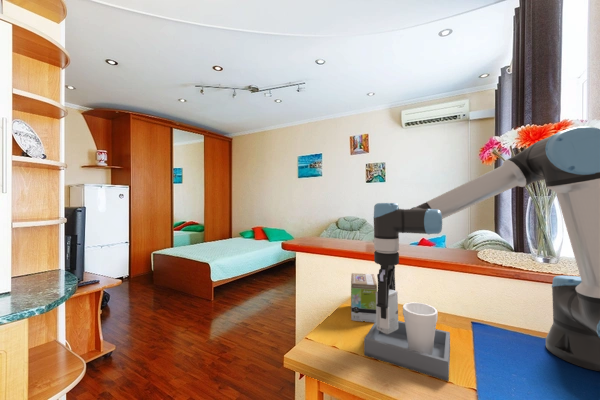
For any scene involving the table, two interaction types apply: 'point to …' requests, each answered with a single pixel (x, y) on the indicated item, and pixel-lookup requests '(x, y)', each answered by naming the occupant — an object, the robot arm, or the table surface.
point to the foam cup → (420, 326)
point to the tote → (409, 351)
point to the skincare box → (392, 312)
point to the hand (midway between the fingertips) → (387, 322)
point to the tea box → (363, 297)
